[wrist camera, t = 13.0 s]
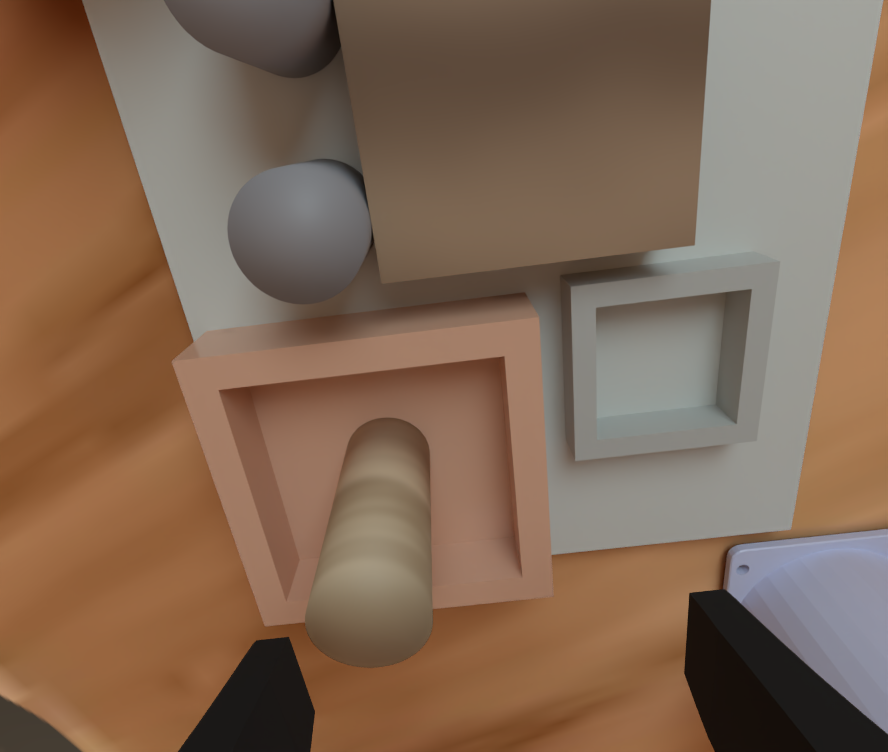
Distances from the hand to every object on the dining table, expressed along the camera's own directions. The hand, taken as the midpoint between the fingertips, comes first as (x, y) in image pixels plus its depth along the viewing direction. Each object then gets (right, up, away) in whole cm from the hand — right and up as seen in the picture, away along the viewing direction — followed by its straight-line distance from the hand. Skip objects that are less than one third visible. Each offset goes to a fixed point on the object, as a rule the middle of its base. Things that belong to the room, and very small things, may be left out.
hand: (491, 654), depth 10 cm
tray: (-3, +3, +9) cm, 10 cm away
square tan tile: (+1, +13, +5) cm, 13 cm away
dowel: (-3, +2, +9) cm, 9 cm away
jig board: (+1, +8, +8) cm, 11 cm away
